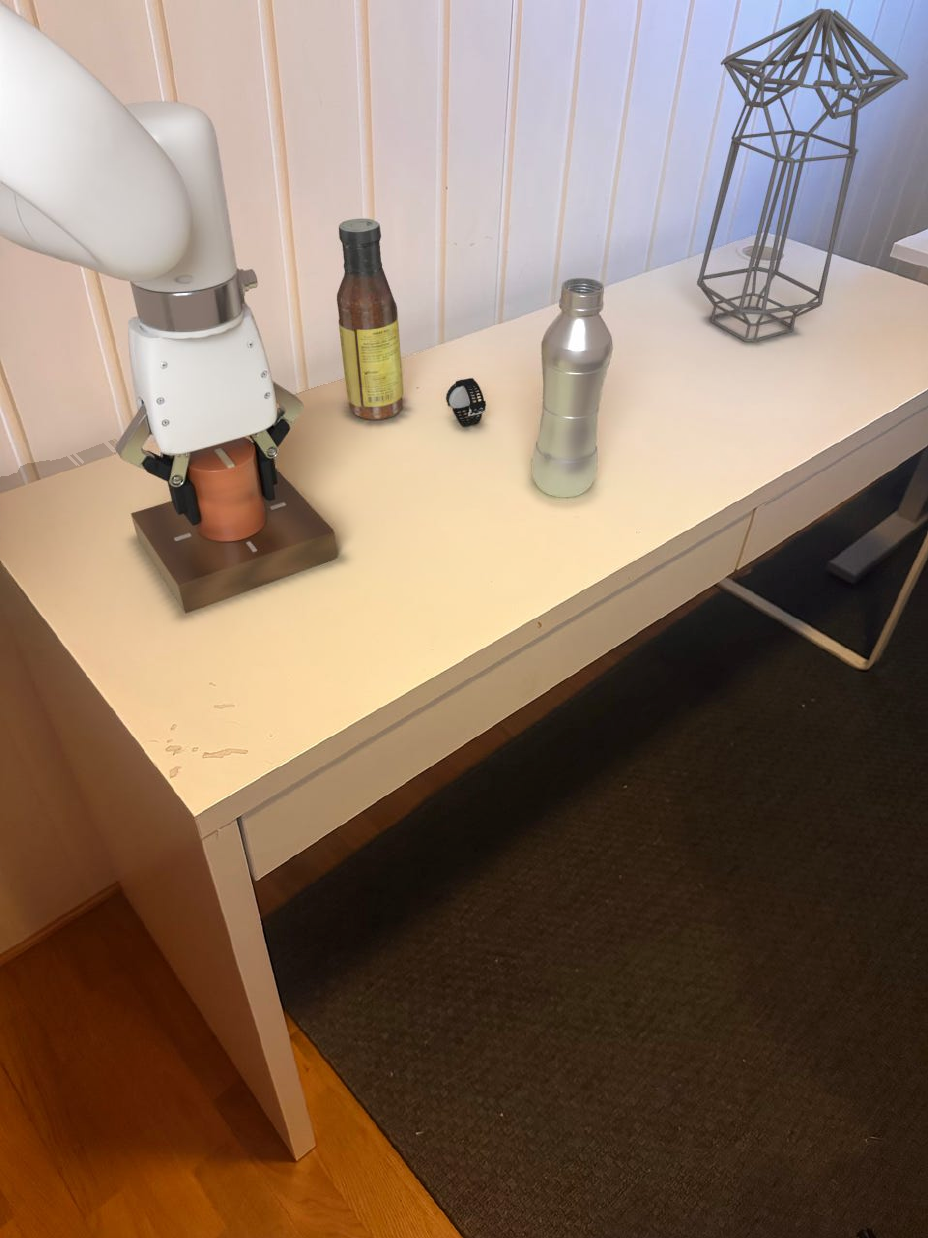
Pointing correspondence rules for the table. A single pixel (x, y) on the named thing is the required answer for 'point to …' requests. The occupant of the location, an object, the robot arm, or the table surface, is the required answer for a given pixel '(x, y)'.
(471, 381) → the smartwatch
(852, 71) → the geometric lantern
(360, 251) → the sauce bottle
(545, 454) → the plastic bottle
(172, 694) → the table surface
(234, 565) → the dial base plate
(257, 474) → the rotary dial knob
